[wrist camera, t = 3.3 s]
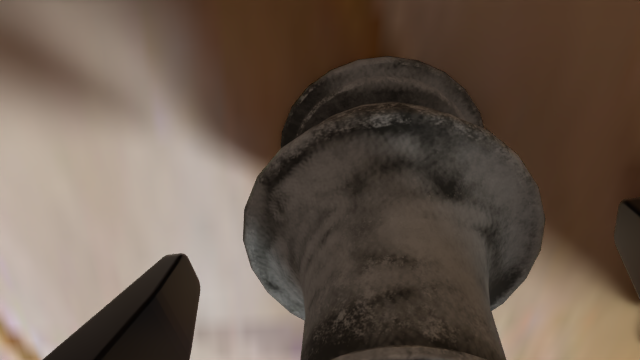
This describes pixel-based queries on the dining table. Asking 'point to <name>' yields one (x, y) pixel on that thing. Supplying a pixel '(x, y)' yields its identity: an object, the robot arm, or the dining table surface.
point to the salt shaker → (392, 217)
